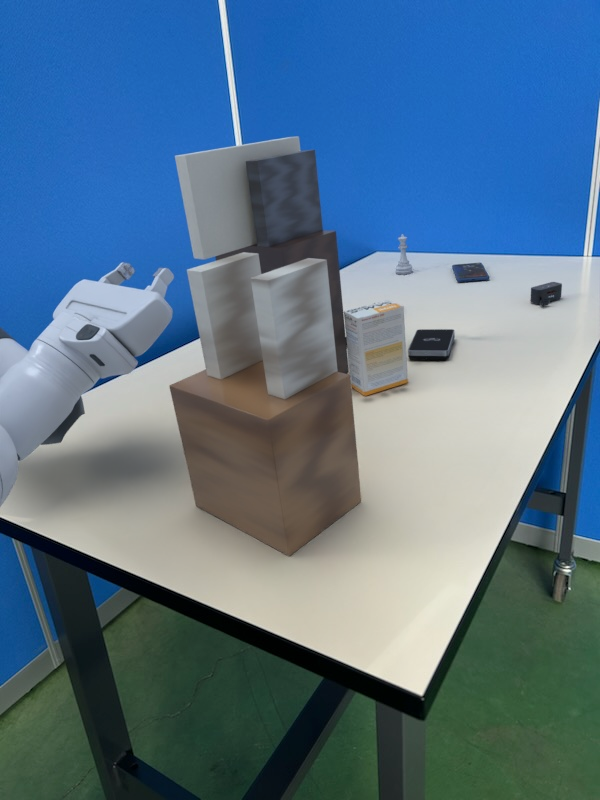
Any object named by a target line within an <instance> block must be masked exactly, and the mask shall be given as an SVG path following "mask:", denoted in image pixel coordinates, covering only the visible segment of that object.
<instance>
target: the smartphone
mask: <svg viewBox="0 0 600 800" xmlns="http://www.w3.org/2000/svg"><path fill="white" fill-rule="evenodd" d="M451 268H452V271H453V273H454V276H455V278H456V281H457V282H458V283H461V282H462V283H463V282H475V281H487V280H490V278H491V277H490V275H489V273H488V272H487V269H485V266H484V264H483V263H482V262H469V263H460V264H459V263H458V264H452V265H451Z"/></svg>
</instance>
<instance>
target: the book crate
mask: <svg viewBox="0 0 600 800" xmlns="http://www.w3.org/2000/svg"><path fill="white" fill-rule="evenodd" d="M186 273H187V279H188V283H189V289H190V294H191V295H190V296H191V300H192V304H193V305H192V306H193V310H194V314H195V320H196V325H197V330H198V335H199V339H200V345H201V350H202V355H203V361H204V366H205V369H203V370H201V371H199V372H197V373H195V374H192V375H190V376H187V377H185V378H183V379H181V380H178V381H176V382H174V383H172V384H169V386H168V387H169V391H170V396H171V401H172V405H173V409H174V414H175V418H176V422H177V428H178V432H179V436H180V440H181V444H182V449H183V454H184V459H185V463H186V468H187V471H188V477H189V480H190V481H189V482H190V485H191V489H192V490H191V491H192V494H193V499H194V503H195V506H196V507H197V508H199V509H201V510H203V511H204V512H207V514H210V515H212V516H214V517H216V518H217V519H219V520H221V521H223V522H225V523H226V524H228V525H231V526H232V527H234V528H236V529H237V530H239V531H242V532H244V533H245V534H247V535H249V536H251V537H253V538H255V539H256V540H257V541H260V542H262V543H263V544H266V545H268V546H269V547H271V548H273V549H275V550H277V551H278V552H280V553H282V554H284V555H286V556H288V557H290V556H292V555H293V554H294V553H296V552H297V551H299V550H300V549H301V548H302V547H304V546H305V545H307V544H308V543H309V542H310V541H311V540H313V539H315V538H316V537H317V536H318V535H319V534H321V533H322V532H324V531H325V530H326V529H327V528H328V527H330V526H331V525H333V524H334V523H335V522H336V521H338V520H339V519H340V518H341V517H343V516H344V515H346V514H347V513H348V512H350V511H351V510H352V509H354V508H355V507H356V506H358V505H359V504H360V503H362V493H361V482H360V470H359V458H358V448H357V437H356V436H357V435H356V426H355V425H356V424H355V414H354V403H353V393H352V392H353V390H352V387H351V378H350V373H349V374H348V373H346V374H345V373H341V372H337V360H336V350H335V340H334V330H333V320H332V309H331V299H330V289H329V279H328V268H327V260H325V259H314V258H307V259H304V260H301V261H299V262H296V263H293V264H290V265H287V266H284V267H281V268H278V269H275V270H272V271H270V272H267V273H264V274H261V268H260V261H259V254H257V253H246V252H243V253H240V254H236V255H233V256H230V257H227V258H223V259H220V260H217V261H216V260H214V261H211V262H207V263H205V264H200V265H198V266H195V267H191V268H187V269H186Z"/></svg>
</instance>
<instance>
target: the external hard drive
mask: <svg viewBox="0 0 600 800" xmlns="http://www.w3.org/2000/svg"><path fill="white" fill-rule="evenodd" d="M455 337H456V336H455V329H453V328H451V329H450V328H449V329H448V328H440V329H439V328H436V329H433V328H432V329H430V328H428V329H425V328H424V329H423V328H422V329H421V328H420V329H416V331H415V333H414V335H413V337H412V340H411V342H410V344H409V346H408V349H407V357H408V359H409V360H411V361H412V360H414V361H415V360H417V361H420V360H421V361H424V360H426V361H446V360H448V359H449V357H450V355H451V351H452V348H453V344H454V340H455Z"/></svg>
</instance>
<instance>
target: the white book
mask: <svg viewBox="0 0 600 800" xmlns="http://www.w3.org/2000/svg"><path fill="white" fill-rule="evenodd" d="M300 142H301V141H300V136H287V137H282V138H276V139H269V140H264V141H257V142H250V143H244V144H238V145H231V146H227V147H226V146H225V147H220V148H215V149H214V148H213V149H209V150H201V151H195V152H190V153H183V154H178V155H177V154H176V155H174V160H175V165H176V171H177V177H178V181H179V187H180V192H181V198H182V201H183V208H184V214H185V217H186V224H187V229H188V235H189V239H190V246H191V250H192V254H193V259H195V260H203V261H204V260H208V259H211V258H214V257H215V256H218V255H221V254H225V253H228V252H231V251H235V250H238V249H241V248H245V247H248V246H251V245H254V244H257V238H256V231H255V224H254V217H253V210H252V203H251V196H250V189H249V182H248V175H247V168H246V161H249V160H255V159H260V158H265V157H271V156H276V155H281V154H287V153H292V152H298V151H301V143H300Z"/></svg>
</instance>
